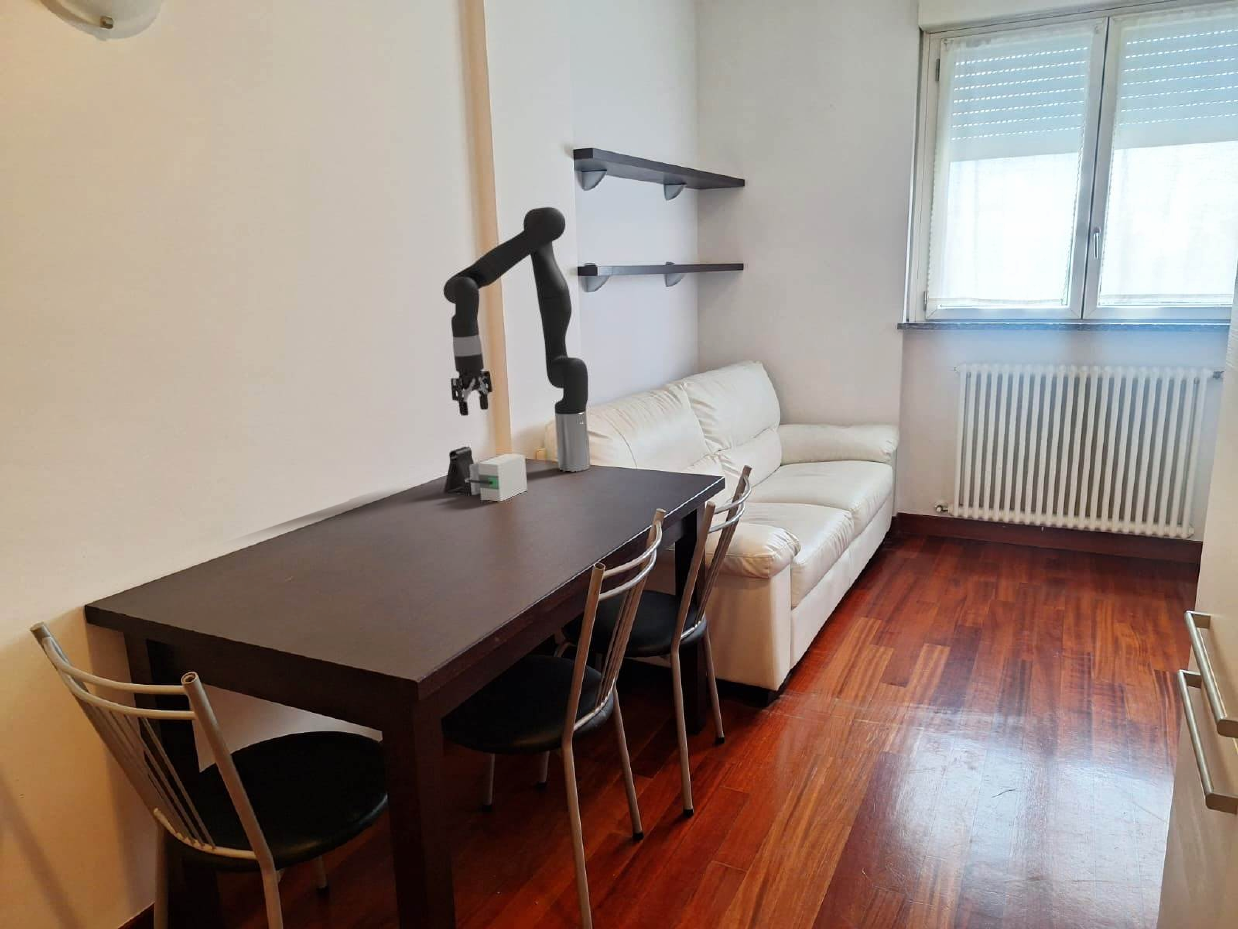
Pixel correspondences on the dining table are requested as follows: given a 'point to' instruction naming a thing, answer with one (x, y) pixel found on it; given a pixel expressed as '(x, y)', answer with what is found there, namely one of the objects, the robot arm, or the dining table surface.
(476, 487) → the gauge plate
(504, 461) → the box
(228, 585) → the dining table surface
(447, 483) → the phone stand
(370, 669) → the dining table surface
